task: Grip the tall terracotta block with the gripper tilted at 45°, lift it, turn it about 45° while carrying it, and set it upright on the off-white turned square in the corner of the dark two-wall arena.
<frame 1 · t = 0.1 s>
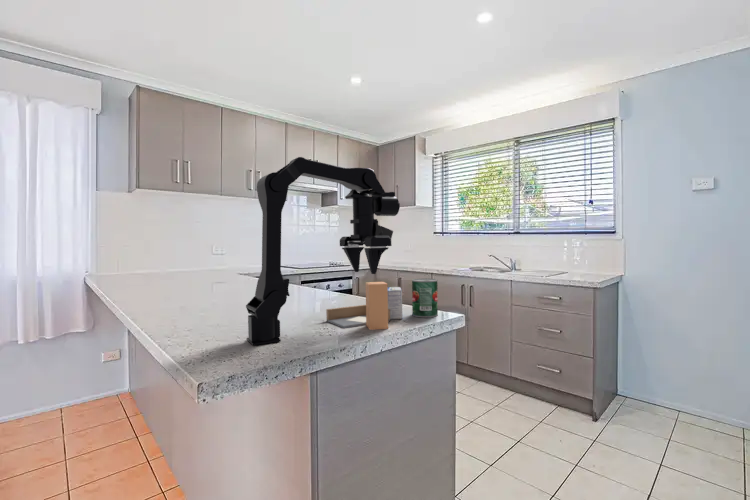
hand: (364, 272, 110), 15 cm above the counter, tool pointing down, fingers open, 9 cm apart
medicine box: (394, 317, 123), on the counter
arena: (358, 321, 117), on the counter
terracotta block: (376, 327, 109), on the counter
canned tomato: (425, 315, 124), on the counter
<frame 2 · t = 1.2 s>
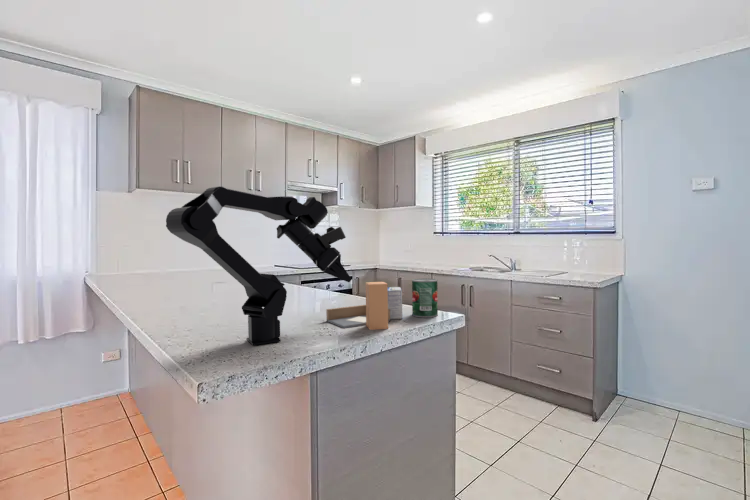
hand: (347, 279, 107), 13 cm above the counter, tool tilted 45°, fingers open, 9 cm apart
nothing on the counter moved.
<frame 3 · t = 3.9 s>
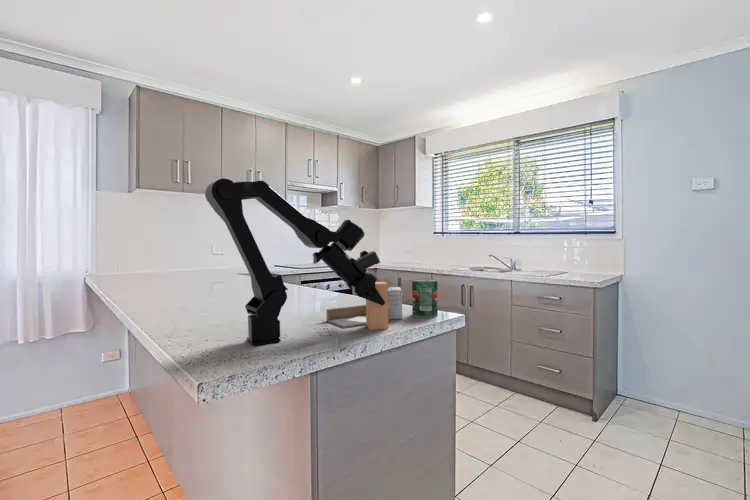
hand: (381, 302, 109), 7 cm above the counter, tool tilted 45°, fingers closed on terracotta block, 5 cm apart
terracotta block: (377, 327, 109), on the counter, touching gripper
everything else where it was.
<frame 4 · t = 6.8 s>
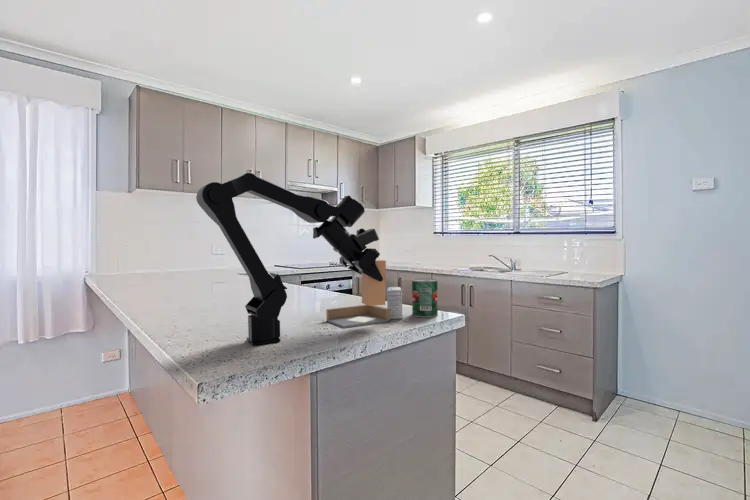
hand: (378, 279, 110), 13 cm above the counter, tool tilted 45°, fingers closed on terracotta block, 5 cm apart
terracotta block: (373, 303, 110), point 6 cm above the counter, touching gripper
everything else where it was.
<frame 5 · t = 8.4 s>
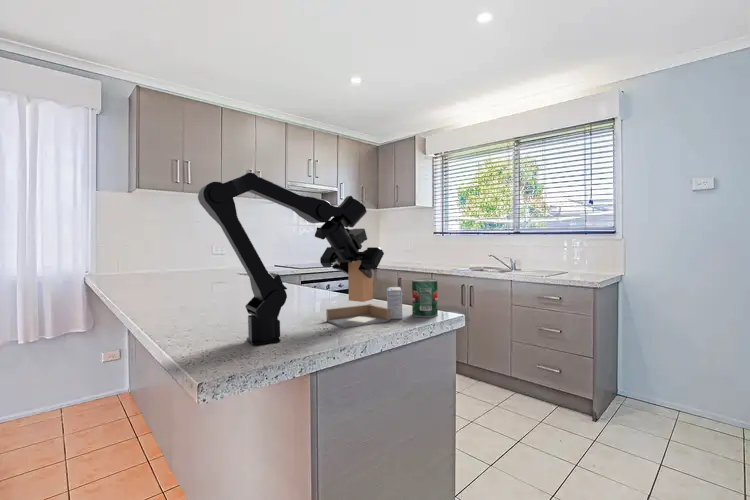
hand: (363, 276, 117), 13 cm above the counter, tool tilted 45°, fingers closed on terracotta block, 5 cm apart
terracotta block: (360, 300, 116), point 6 cm above the counter, touching gripper
everything else where it was.
when the fingers open (8 cm above the counter, at t = 9.8 s): terracotta block stays where it is, resting on arena.
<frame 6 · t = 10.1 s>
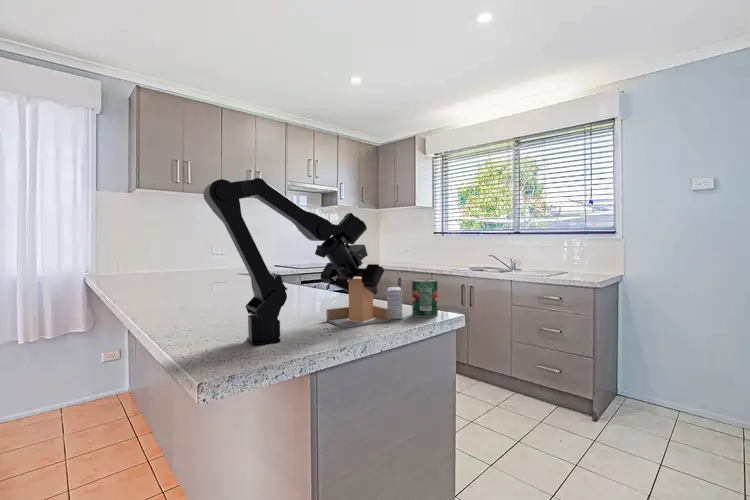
hand: (363, 292, 117), 8 cm above the counter, tool tilted 45°, fingers open, 8 cm apart
terracotta block: (361, 319, 116), point 1 cm above the counter, touching arena
everything else where it was.
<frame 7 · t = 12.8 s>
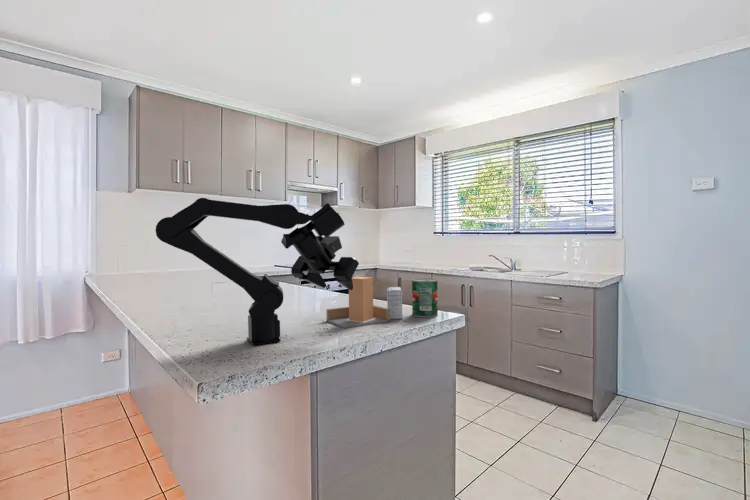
hand: (338, 287, 108), 11 cm above the counter, tool tilted 45°, fingers open, 9 cm apart
nothing on the counter moved.
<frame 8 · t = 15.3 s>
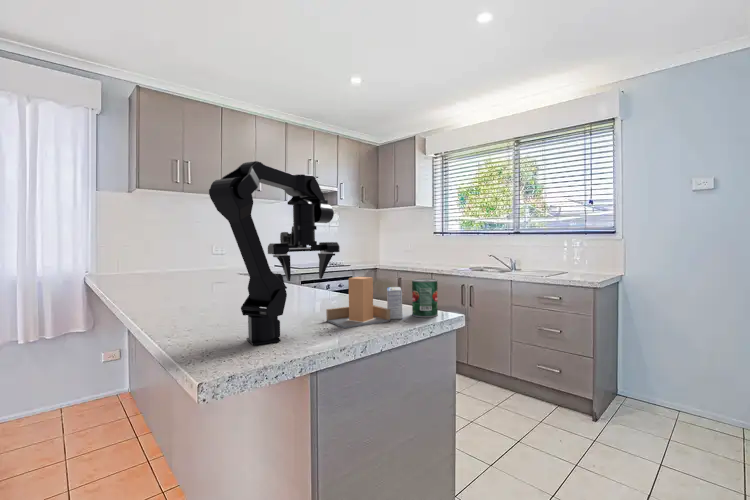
hand: (305, 279, 109), 13 cm above the counter, tool pointing down, fingers open, 9 cm apart
nothing on the counter moved.
at the end: terracotta block 0.0 cm from the target spot, point 0.7 cm above the counter; terracotta block tilted 0°; the gripper is holding nothing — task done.
